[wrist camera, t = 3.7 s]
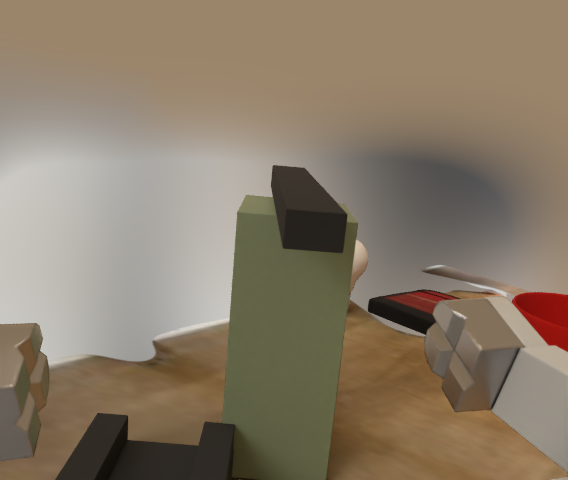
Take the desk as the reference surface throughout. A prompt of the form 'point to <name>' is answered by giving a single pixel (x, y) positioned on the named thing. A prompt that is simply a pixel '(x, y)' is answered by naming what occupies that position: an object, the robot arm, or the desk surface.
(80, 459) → the dock pad
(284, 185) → the pad strip
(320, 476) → the stand
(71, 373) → the desk surface
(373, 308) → the binder
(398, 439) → the desk surface
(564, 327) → the ceramic cup
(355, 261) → the lightbulb
